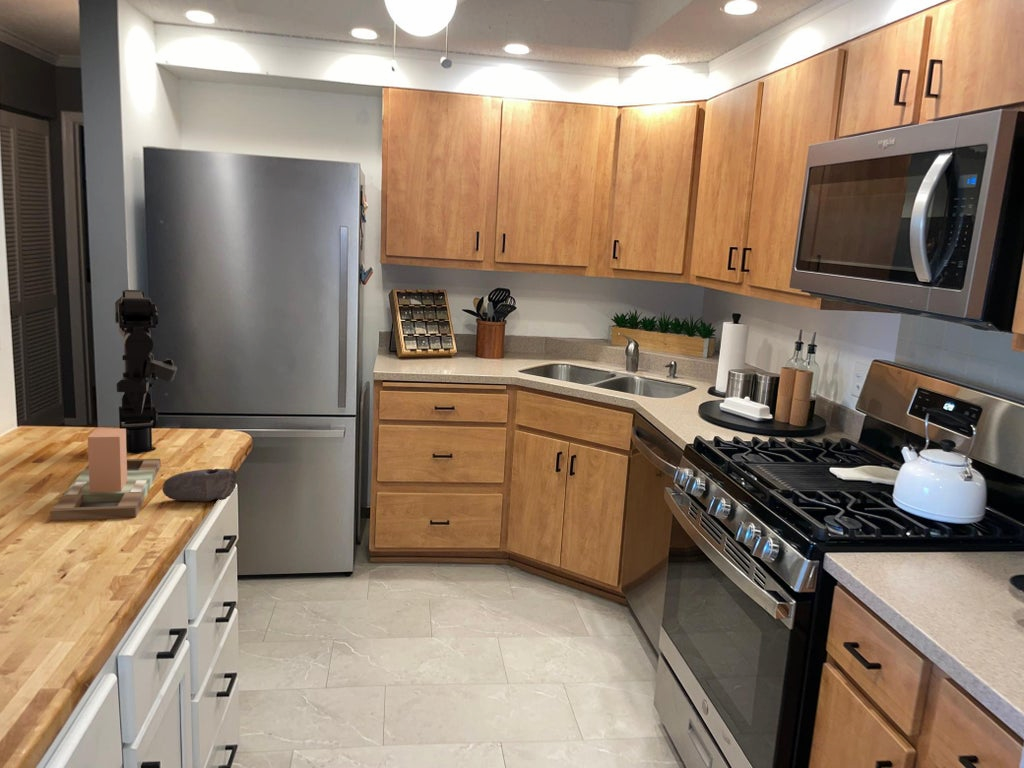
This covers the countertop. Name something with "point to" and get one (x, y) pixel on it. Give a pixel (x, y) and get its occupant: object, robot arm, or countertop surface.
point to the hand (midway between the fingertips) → (139, 414)
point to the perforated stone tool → (201, 485)
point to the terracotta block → (107, 460)
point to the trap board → (108, 495)
